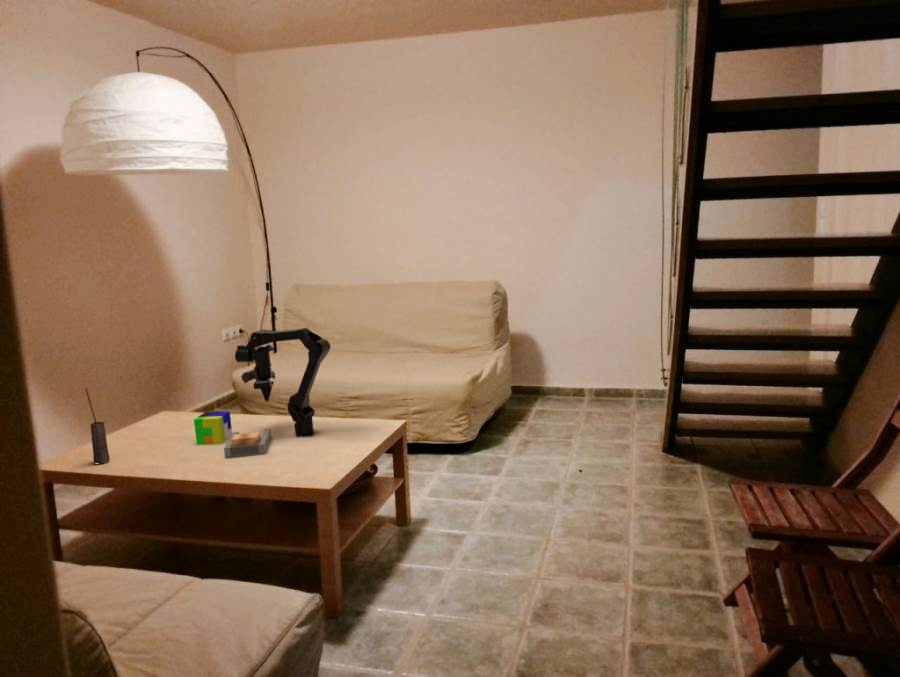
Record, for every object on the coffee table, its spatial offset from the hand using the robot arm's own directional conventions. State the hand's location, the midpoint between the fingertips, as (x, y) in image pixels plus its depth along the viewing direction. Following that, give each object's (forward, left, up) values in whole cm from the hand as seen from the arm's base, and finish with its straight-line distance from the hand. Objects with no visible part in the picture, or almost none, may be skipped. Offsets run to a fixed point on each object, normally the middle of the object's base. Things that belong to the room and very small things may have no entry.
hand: (267, 401), depth 272 cm
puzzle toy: (+21, +2, -13) cm, 25 cm away
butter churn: (+57, +16, -13) cm, 61 cm away
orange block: (+6, +21, -13) cm, 25 cm away
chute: (+6, +16, -13) cm, 21 cm away
